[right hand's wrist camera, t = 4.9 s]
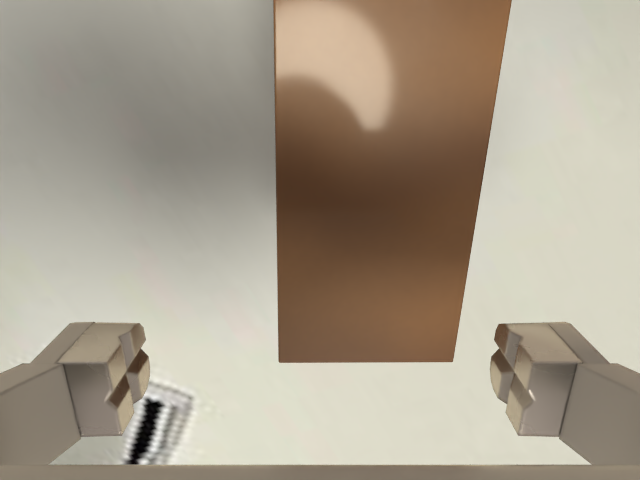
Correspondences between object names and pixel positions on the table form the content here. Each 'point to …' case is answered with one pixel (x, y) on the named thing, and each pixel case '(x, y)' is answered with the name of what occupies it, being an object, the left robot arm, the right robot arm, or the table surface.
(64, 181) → the table surface
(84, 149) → the table surface
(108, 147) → the table surface
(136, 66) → the table surface
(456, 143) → the box
